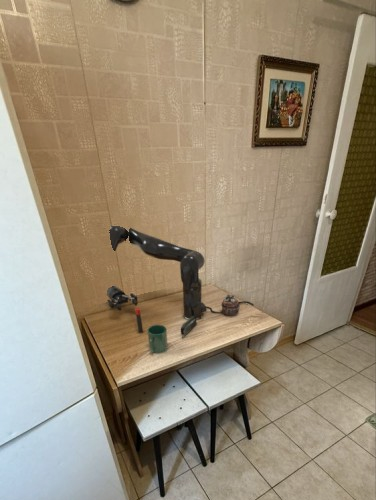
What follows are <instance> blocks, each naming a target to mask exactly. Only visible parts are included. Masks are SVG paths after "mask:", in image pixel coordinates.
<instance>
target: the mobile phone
mask: <svg viewBox="0 0 376 500" xmlns="http://www.w3.org/2000/svg"><path fill="white" fill-rule="evenodd" d="M196 325H197V320H196V316H192V317H191V318H190V319H189V320H186V321H184V322H183V324H182V325H181V327H180V334H181V339H183V338H185V336H186V335H188V334H189V332H191V331H192V329H193V328H195V327H196Z"/></svg>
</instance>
